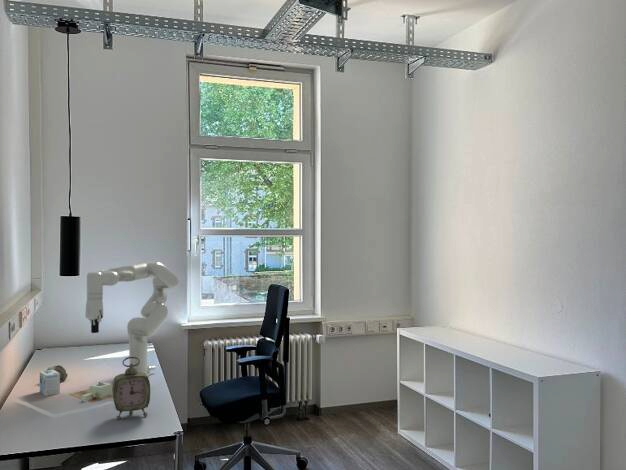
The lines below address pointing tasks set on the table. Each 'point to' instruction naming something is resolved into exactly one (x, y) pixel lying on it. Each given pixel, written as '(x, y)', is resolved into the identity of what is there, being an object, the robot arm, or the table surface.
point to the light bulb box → (49, 382)
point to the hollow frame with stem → (98, 391)
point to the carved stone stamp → (60, 370)
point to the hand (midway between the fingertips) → (94, 332)
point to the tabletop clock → (131, 390)
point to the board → (79, 394)
